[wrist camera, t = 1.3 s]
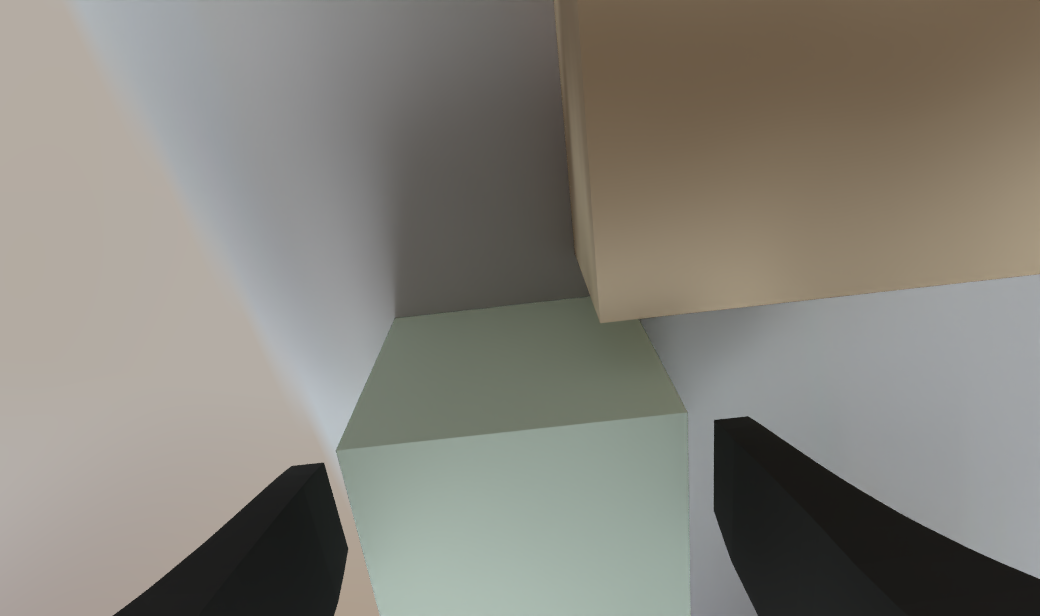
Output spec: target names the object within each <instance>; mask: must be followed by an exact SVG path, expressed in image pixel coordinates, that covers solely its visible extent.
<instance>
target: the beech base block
mask: <svg viewBox="0 0 1040 616" xmlns="http://www.w3.org/2000/svg"><path fill="white" fill-rule="evenodd" d="M554 11H555V23H556V35H557V47H558V59H559V71H560V83H561V95H562V107H563V119H564V131H565V143H566V155H567V167H568V179H569V191H570V203H571V215H572V227H573V239H574V250H575V255H576V258H577V261H578V264H579V266H580V269H581V272H582V275H583V277H584V280H585V283H586V286H587V288H588V291H589V294H590V297H591V300H592V302H593V305H594V308H595V311H596V313H597V316H598V319H599V322H600V323H608V322H616V321H625V320H634V319H643V318H652V317H661V316H670V315H679V314H688V313H697V312H706V311H715V310H724V309H733V308H742V307H751V306H759V305H768V304H777V303H786V302H795V301H804V300H813V299H822V298H831V297H840V296H849V295H858V294H867V293H876V292H885V291H894V290H902V289H911V288H920V287H929V286H938V285H947V284H956V283H965V282H974V281H983V280H992V279H1001V278H1010V277H1019V276H1028V275H1037V274H1040V0H554Z"/></svg>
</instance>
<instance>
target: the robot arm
mask: <svg viewBox="0 0 1040 616" xmlns="http://www.w3.org/2000/svg"><path fill="white" fill-rule="evenodd" d="M714 512H715V515H716V518H717V521H718V524H719V527H720V530H721V533H722V536H723V539H724V542H725V545H726V547H727V550H728V553H729V556H730V558H731V561H732V563H733V565H734V567H735V570H736V572H737V574H738V576H739V578H740V580H741V582H742V584H743V586H744V588H745V590H746V592H747V594H748V596H749V598H750V600H751V602H752V604H753V606H754V608H755V610H756V612H757V614H758V616H1040V579H1038V578H1036V577H1033V576H1031V575H1028V574H1026V573H1024V572H1021V571H1019V570H1017V569H1014V568H1012V567H1009V566H1007V565H1005V564H1002V563H1000V562H998V561H995V560H993V559H991V558H989V557H987V556H984V555H982V554H980V553H978V552H976V551H973V550H971V549H969V548H967V547H965V546H963V545H961V544H959V543H957V542H955V541H953V540H951V539H949V538H947V537H945V536H943V535H941V534H939V533H937V532H935V531H933V530H931V529H929V528H927V527H925V526H923V525H921V524H919V523H917V522H915V521H913V520H911V519H910V518H908V517H906V516H904V515H902V514H900V513H898V512H897V511H895V510H893V509H892V508H890V507H888V506H886V505H885V504H883V503H881V502H879V501H878V500H876V499H874V498H873V497H871V496H869V495H867V494H866V493H864V492H862V491H861V490H859V489H857V488H856V487H854V486H852V485H851V484H849V483H848V482H846V481H844V480H843V479H841V478H840V477H838V476H836V475H835V474H833V473H832V472H830V471H829V470H827V469H826V468H824V467H823V466H821V465H820V464H818V463H816V462H815V461H813V460H812V459H810V458H809V457H808V456H806V455H805V454H803V453H802V452H800V451H799V450H797V449H796V448H794V447H793V446H791V445H790V444H788V443H787V442H785V441H784V440H783V439H781V438H780V437H778V436H777V435H775V434H774V433H772V432H771V431H769V430H768V429H767V428H765V427H764V426H762V425H761V424H759V423H758V422H756V421H754V420H753V419H751V418H750V417H748V416H747V417H738V418H729V419H720V420H714ZM347 553H348V547H347V543H346V539H345V536H344V533H343V529H342V525H341V522H340V518H339V515H338V511H337V507H336V504H335V500H334V497H333V493H332V490H331V486H330V483H329V479H328V476H327V472H326V468H325V465H324V463H317V464H306V465H297V466H291V467H290V468H289V469H287V470H286V471H285V472H283V474H281V475H280V476H279V477H278V478H276V479H275V480H274V481H273V482H272V483H271V484H270V485H268V487H266V488H265V489H264V490H263V491H262V492H261V493H259V494H258V495H257V496H256V497H255V498H254V499H253V500H252V501H251V502H250V503H248V504H247V505H246V506H245V507H244V508H243V509H242V510H241V511H240V512H238V513H237V514H236V515H235V516H234V517H233V518H232V519H231V520H229V521H228V522H227V523H226V524H225V525H224V526H223V527H222V528H220V529H219V530H218V531H217V532H216V533H215V534H214V535H213V536H211V537H210V538H209V539H208V540H207V541H206V542H205V543H203V544H202V545H201V546H200V547H199V548H197V549H196V550H195V551H194V552H193V553H191V554H190V555H189V556H188V557H187V558H185V559H184V560H183V561H182V562H181V563H179V564H178V565H177V566H176V567H175V568H173V569H172V570H171V571H170V572H169V573H167V574H166V575H165V576H164V577H163V578H161V579H160V580H159V581H158V582H156V583H155V584H154V585H153V586H151V587H150V588H149V589H148V590H146V591H145V592H144V593H142V594H141V595H140V596H139V597H138V598H136V599H135V600H133V601H132V602H131V603H129V604H128V605H127V606H125V607H124V608H123V609H121V610H120V611H119V612H117V613H116V614H115V615H113V616H334V613H335V610H336V607H337V604H338V600H339V595H340V590H341V585H342V580H343V575H344V570H345V564H346V558H347Z"/></svg>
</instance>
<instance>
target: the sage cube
mask: <svg viewBox="0 0 1040 616" xmlns="http://www.w3.org/2000/svg"><path fill="white" fill-rule="evenodd" d="M336 453H337V456H338V460H339V464H340V468H341V471H342V475H343V479H344V483H345V487H346V490H347V494H348V498H349V502H350V505H351V509H352V513H353V517H354V520H355V524H356V528H357V532H358V535H359V539H360V543H361V547H362V550H363V554H364V558H365V561H366V565H367V569H368V573H369V577H370V580H371V584H372V588H373V592H374V595H375V599H376V603H377V607H378V611H379V614H380V616H691V613H690V546H689V480H688V414H687V411H686V409H685V407H684V405H683V403H682V401H681V399H680V397H679V395H678V393H677V391H676V389H675V388H674V386H673V384H672V382H671V380H670V378H669V376H668V374H667V372H666V370H665V368H664V367H663V365H662V363H661V361H660V359H659V357H658V355H657V353H656V351H655V349H654V347H653V346H652V344H651V342H650V340H649V338H648V336H647V334H646V332H645V330H644V328H643V326H642V324H641V323H640V321H639V319H634V320H625V321H616V322H608V323H600V322H599V319H598V316H597V313H596V311H595V308H594V305H593V302H592V300H591V297H590V296H589V297H580V298H571V299H562V300H553V301H544V302H536V303H527V304H518V305H509V306H500V307H491V308H482V309H473V310H465V311H456V312H447V313H438V314H429V315H420V316H411V317H402V318H395V319H394V322H393V324H392V326H391V328H390V331H389V333H388V335H387V337H386V339H385V342H384V344H383V346H382V348H381V351H380V353H379V355H378V357H377V360H376V362H375V364H374V366H373V369H372V371H371V373H370V375H369V378H368V380H367V382H366V384H365V387H364V389H363V391H362V393H361V396H360V398H359V400H358V402H357V404H356V407H355V409H354V411H353V413H352V416H351V418H350V420H349V422H348V425H347V427H346V429H345V431H344V434H343V436H342V438H341V440H340V443H339V445H338V447H337V449H336Z"/></svg>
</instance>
